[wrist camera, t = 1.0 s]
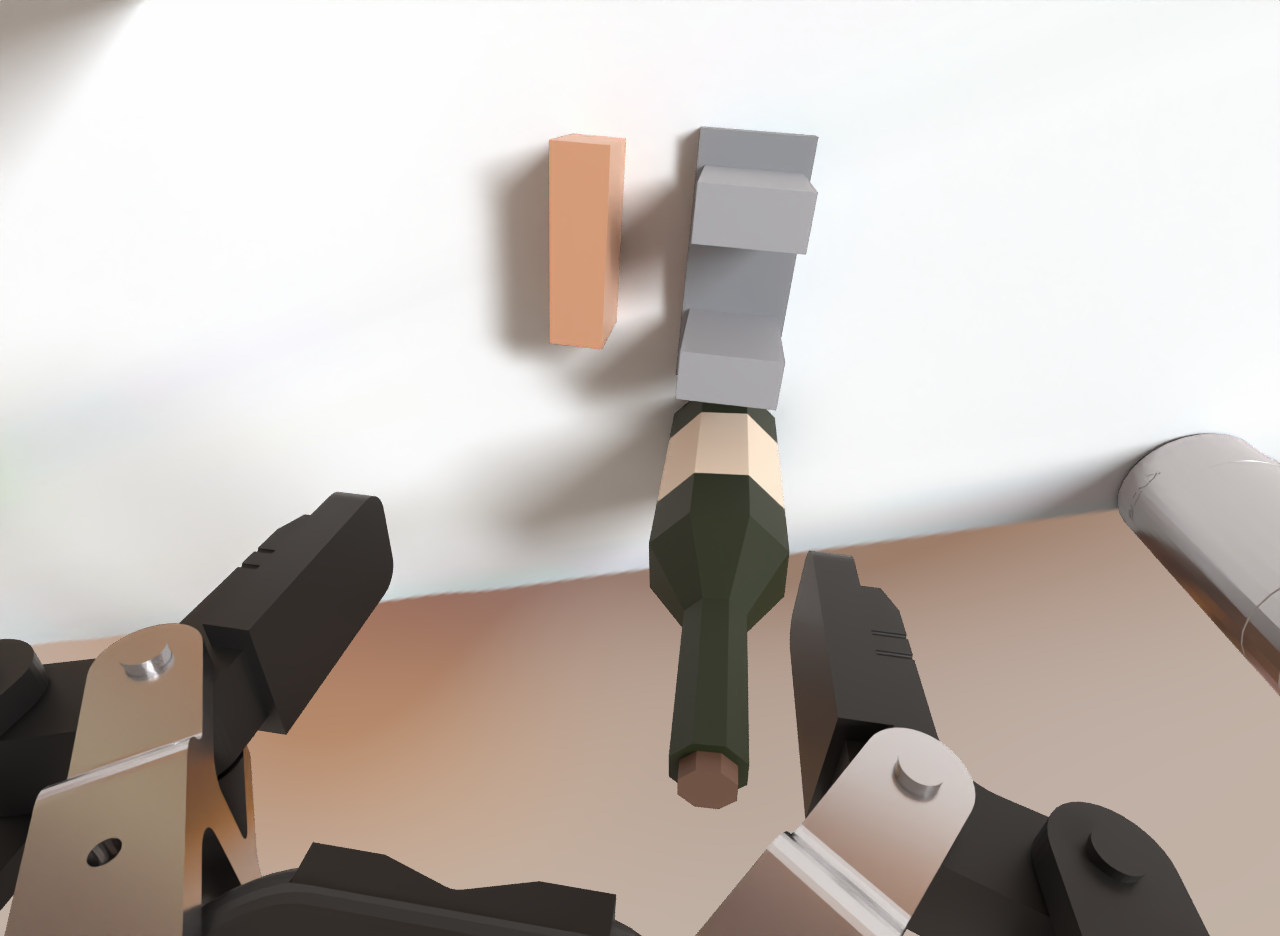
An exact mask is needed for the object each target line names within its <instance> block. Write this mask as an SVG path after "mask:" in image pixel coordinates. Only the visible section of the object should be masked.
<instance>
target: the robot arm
mask: <svg viewBox="0 0 1280 936" xmlns="http://www.w3.org/2000/svg"><path fill="white" fill-rule="evenodd" d="M1118 507H1119V513H1120V515H1121V516H1122V518H1123V520H1124V522H1125V523H1126V524H1127V525H1128V526H1129V527H1130V528H1131V529H1132V531H1133V532H1134V533H1135V534H1136V535H1137V536H1138V537H1139V539H1140V540H1142V542H1143V543H1144V544H1145V545H1146V546H1147V548H1148V549H1149V550H1150V551H1151V552H1152V553H1153V555H1154V556H1155V557H1156V558H1157V559H1158V560H1159V561H1160V562H1161V564H1162V565H1163V566H1164V567H1165V568H1166V569H1167V570H1168V572H1169V573H1170V574H1171V575H1172V576H1173V577H1174V578H1175V579H1176V581H1177V582H1178V583H1179V584H1180V585H1181V586H1182V587H1183V588H1184V589H1185V591H1186V592H1187V593H1188V594H1189V595H1190V596H1191V597H1192V598H1193V600H1194V601H1195V602H1196V603H1197V604H1198V605H1199V606H1200V608H1201V609H1202V610H1203V611H1204V612H1205V613H1206V614H1207V615H1208V617H1209V618H1210V619H1211V620H1212V621H1213V622H1214V623H1215V624H1216V625H1217V627H1218V628H1219V629H1220V630H1221V631H1222V632H1223V633H1224V634H1225V636H1226V637H1227V638H1228V639H1229V640H1230V641H1231V642H1232V643H1233V645H1234V646H1235V647H1236V648H1237V649H1238V650H1239V651H1240V652H1241V654H1242V655H1243V656H1244V657H1245V658H1246V659H1247V660H1248V661H1249V663H1250V664H1251V665H1252V666H1253V667H1254V668H1255V669H1256V670H1257V671H1258V672H1259V673H1260V675H1261V676H1262V677H1263V678H1264V679H1265V680H1266V681H1267V682H1268V684H1269V685H1270V686H1271V687H1272V688H1273V689H1274V690H1275V691H1276V693H1277V694H1278V695H1279V696H1280V463H1279V462H1278V461H1277V460H1272V459H1270V458H1269V457H1267V456H1266V455H1264V454H1263V453H1262V452H1260V451H1259V450H1257V449H1256V448H1254V447H1253V446H1251V445H1250V444H1248V443H1247V442H1245V441H1244V440H1242V439H1239V438H1236V437H1233V436H1230V435H1223V434H1198V435H1193V436H1189V437H1184V438H1181V439H1178V440H1175V441H1172V442H1170V443H1167V444H1165V445H1163V446H1161V447H1160V448H1158V449H1156V450H1154V451H1152V452H1151V453H1150V454H1148V455H1147V456H1146V457H1144V458H1143V459H1141V460H1140V461H1139V462H1138V463H1137V464H1136V465H1135V466H1134V467H1133V468H1132V469H1131V470H1130V472H1129V473H1128V475H1127V476H1126V478H1125V479H1124V481H1123V483H1122V486H1121V488H1120V491H1119V496H1118ZM392 573H393V557H392V552H391V546H390V541H389V536H388V530H387V525H386V519H385V514H384V509H383V505H382V502H381V500H380V499H379V498H378V497H376V496H368V495H359V494H351V493H343V492H336V493H333V494H332V495H331V496H329V497H328V498H327V499H326V500H325V501H324V502H323V503H322V504H321V505H320V506H319V507H318V508H317V509H316V510H315V511H314V512H313V513H312V514H311V515H303V516H301V517H299V518H297V519H296V520H294V521H292V522H290V523H288V524H286V525H285V526H283V527H281V528H279V529H277V530H276V531H275V532H274V533H273V534H272V535H271V536H270V537H269V538H268V539H267V540H266V541H265V542H264V543H263V544H262V545H261V546H260V547H258V551H257V552H253V553H252V554H251V555H250V556H249V557H248V558H247V559H246V560H245V561H244V562H243V563H242V567H238V568H237V569H235V570H234V571H233V572H232V573H231V574H230V575H229V576H228V577H227V578H226V579H225V580H224V581H223V582H222V583H221V584H220V585H219V586H218V587H217V588H216V589H215V590H214V591H212V592H211V593H210V594H209V595H208V596H207V597H206V598H205V599H204V600H203V601H202V602H201V603H200V604H199V605H198V606H197V607H196V608H195V609H194V610H193V611H192V612H191V613H189V614H188V615H187V616H186V617H185V618H184V619H183V620H182V621H181V622H180V623H179V624H177V623H174V624H161V625H156V626H152V627H148V628H145V629H142V630H139V631H136V632H134V633H132V634H129V635H127V636H125V637H123V638H122V639H120V640H118V641H117V642H115V643H113V644H112V645H111V646H109V647H108V648H107V649H105V650H104V651H103V652H102V653H101V654H100V655H99V656H98V657H97V658H96V659H88V660H79V661H71V662H63V663H53V664H44V665H42V664H41V662H40V660H39V658H38V657H37V655H36V653H35V652H34V650H33V649H32V647H31V646H30V645H29V644H28V643H26V642H24V641H21V640H15V639H1V640H0V910H1V909H2V908H3V907H4V906H5V904H6V903H7V902H8V901H9V900H10V898H11V897H12V896H13V895H14V896H13V900H12V905H11V909H10V913H9V918H8V922H7V927H6V931H5V936H641V935H639V934H638V933H637V932H635V931H634V930H633V929H631V928H630V927H628V926H626V925H624V924H622V923H620V922H618V921H616V920H615V905H616V894H609V893H604V892H598V891H592V890H587V889H581V888H574V887H569V886H563V885H558V884H552V883H546V882H540V881H538V882H530V883H520V884H511V885H501V886H492V887H483V888H474V889H464V890H455V889H450V888H448V887H445V886H443V885H441V884H440V883H438V882H436V881H434V880H432V879H430V878H428V877H426V876H424V875H422V874H420V873H419V872H417V871H415V870H413V869H411V868H409V867H407V866H405V865H403V864H401V863H400V862H398V861H396V860H394V859H392V858H390V857H388V856H386V855H383V854H378V853H371V852H366V851H360V850H355V849H349V848H342V847H336V846H331V845H325V844H320V843H314V842H313V843H312V845H311V847H310V848H309V850H308V852H307V854H306V855H305V857H304V859H303V861H302V863H301V865H300V866H299V868H295V869H289V870H285V871H281V872H276V873H272V874H269V875H266V876H263V877H262V876H261V872H260V868H259V864H258V857H257V850H256V834H255V818H254V804H253V789H252V788H253V787H252V771H251V757H250V752H249V749H248V747H247V744H248V743H249V741H250V740H251V739H252V737H253V736H254V735H255V733H256V732H257V731H258V730H259V731H266V732H272V733H279V734H285V735H286V734H287V733H288V731H289V730H290V729H291V727H292V726H293V724H294V723H295V721H296V720H297V718H298V717H299V716H300V714H301V713H302V711H303V710H304V708H305V707H306V706H307V704H308V703H309V701H310V700H311V699H312V697H313V696H314V694H315V693H316V691H317V690H318V688H319V687H320V686H321V684H322V683H323V681H324V680H325V679H326V677H327V676H328V674H329V673H330V671H331V670H332V668H333V667H334V666H335V664H336V663H337V661H338V660H339V658H340V657H341V656H342V654H343V653H344V651H345V650H346V649H347V647H348V646H349V644H350V643H351V641H352V640H353V638H354V637H355V636H356V634H357V633H358V631H359V630H360V629H361V627H362V626H363V624H364V623H365V621H366V620H367V619H368V617H369V616H370V614H371V613H372V611H373V610H374V609H375V607H376V606H377V604H378V603H379V601H380V600H381V599H382V597H383V596H384V594H385V593H386V591H387V589H388V587H389V585H390V582H391V578H392ZM790 653H791V664H792V676H793V687H794V698H795V709H796V719H797V731H798V742H799V753H800V764H801V775H802V785H803V797H804V808H805V820H804V822H803V823H802V824H801V825H800V826H799V828H798V829H797V830H796V831H795V832H793V833H792V834H790V833H789V832H787V831H786V832H784V833H782V834H781V835H780V836H778V837H777V838H776V839H775V840H774V841H773V842H772V843H771V844H770V846H769V847H768V848H767V849H766V850H765V852H764V853H763V854H762V855H761V856H760V858H759V859H758V860H757V861H756V862H755V864H754V865H753V866H752V867H751V869H750V870H749V871H748V872H747V873H746V875H745V876H744V877H743V878H742V879H741V881H740V882H739V883H738V884H737V886H736V887H735V888H734V889H733V890H732V892H731V893H730V894H729V895H728V896H727V898H726V899H725V900H724V901H723V903H722V904H721V905H720V906H719V907H718V909H717V910H716V911H715V912H714V913H713V915H712V916H711V917H710V918H709V920H708V921H707V922H706V923H705V924H704V926H703V927H702V928H701V929H700V930H699V932H698V933H697V934H696V935H695V936H903V935H904V933H905V931H906V929H908V930H910V931H912V932H914V933H916V934H918V935H920V936H1209V934H1208V932H1207V930H1206V928H1205V926H1204V924H1203V922H1202V920H1201V918H1200V916H1199V914H1198V912H1197V910H1196V908H1195V906H1194V904H1193V902H1192V900H1191V898H1190V896H1189V894H1188V892H1187V890H1186V888H1185V886H1184V884H1183V882H1182V880H1181V878H1180V876H1179V874H1178V872H1177V870H1176V868H1175V867H1174V865H1173V863H1172V862H1171V860H1170V859H1169V857H1168V856H1167V855H1166V853H1165V852H1164V851H1163V850H1162V848H1161V847H1159V845H1158V844H1157V843H1156V842H1155V841H1154V840H1153V839H1152V838H1151V837H1150V836H1149V835H1148V834H1147V833H1146V832H1144V831H1143V830H1142V829H1141V828H1139V827H1138V826H1137V825H1135V824H1134V823H1133V822H1131V821H1129V820H1128V819H1126V818H1125V817H1123V816H1121V815H1119V814H1117V813H1116V812H1113V811H1112V810H1109V809H1107V808H1104V807H1102V806H1099V805H1095V804H1091V803H1085V802H1070V803H1066V804H1062V805H1061V806H1059V807H1057V808H1056V809H1055V810H1054V811H1053V812H1052V813H1051V815H1050V816H1049V817H1047V816H1045V815H1042V814H1040V813H1038V812H1035V811H1033V810H1030V809H1028V808H1026V807H1024V806H1021V805H1019V804H1017V803H1014V802H1012V801H1010V800H1007V799H1005V798H1002V797H1000V796H998V795H996V794H994V793H992V792H990V791H988V790H986V789H985V788H983V787H981V786H980V785H978V784H977V783H975V782H974V781H972V778H971V776H970V774H969V772H968V770H967V769H966V767H965V765H964V764H963V762H962V761H961V760H960V759H959V758H958V757H957V755H956V754H955V753H954V752H952V751H951V750H950V749H949V748H948V747H947V746H945V745H944V744H943V743H941V742H940V741H939V739H938V736H937V733H936V730H935V727H934V723H933V720H932V717H931V713H930V710H929V707H928V704H927V701H926V697H925V694H924V690H923V687H922V684H921V681H920V677H919V674H918V671H917V668H916V664H915V661H914V660H912V655H913V654H912V651H911V648H910V645H909V641H908V640H907V639H906V632H905V628H904V625H903V622H902V619H901V615H900V612H899V610H898V609H897V608H896V606H895V605H894V604H893V603H892V601H891V600H890V599H889V598H888V597H887V595H886V594H885V593H884V592H883V591H882V590H881V589H880V588H874V587H865V586H860V583H859V579H858V574H857V570H856V566H855V562H854V559H853V557H852V556H849V555H840V554H832V553H824V552H816V551H809V552H808V554H807V556H806V559H805V564H804V568H803V572H802V576H801V581H800V584H799V589H798V593H797V597H796V602H795V606H794V610H793V614H792V620H791V629H790Z"/></svg>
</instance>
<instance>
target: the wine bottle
mask: <svg viewBox="0 0 1280 936" xmlns="http://www.w3.org/2000/svg"><path fill="white" fill-rule="evenodd" d="M788 558H789V544H788V535H787V526H786V517H785V508H784V499H783V490H782V480H781V471H780V462H779V453H778V444H777V435H776V426H775V418H774V417H773V416H772V415H771V414H770V413H769V412H768V411H767V410H766V409H760V408H751V407H743V406H734V405H725V404H716V403H708V402H699V401H689V402H688V403H687V404H686V405H685V406H684V407H682V408H681V409H680V410H679V411H678V412H677V413H675V414H674V419H673V424H672V429H671V434H670V439H669V444H668V449H667V455H666V460H665V465H664V470H663V475H662V480H661V485H660V490H659V495H658V500H657V505H656V510H655V515H654V520H653V526H652V531H651V536H650V541H649V567H650V588H651V589H652V590H653V592H654V593H655V594H656V595H657V597H658V598H659V599H660V600H661V601H662V603H663V604H664V605H665V607H666V608H667V609H668V610H669V612H670V613H671V614H672V615H673V617H674V618H675V619H676V620H677V622H678V623H679V624H680V625H681V626H682V636H681V645H680V655H679V664H678V674H677V684H676V693H675V702H674V703H675V704H674V712H673V722H672V731H671V741H670V750H669V777H670V778H672V779H673V780H675V781H676V782H677V783H678V795H679V796H681V797H682V798H684V799H685V800H686V801H688V802H689V803H691V804H692V805H693V806H695V807H696V806H697V807H704V808H713V809H720V808H722V807H724V806H726V805H728V804H731V803H733V802H735V801H737V792H738V789H739V788H741V787H743V786H745V785H747V781H748V770H749V731H748V730H749V725H748V660H747V632H748V631H749V630H750V629H751V628H752V627H753V626H754V625H755V624H756V623H757V622H758V621H759V620H760V619H761V618H762V617H763V616H764V615H765V614H766V613H768V612H769V611H770V610H771V609H772V607H774V606H775V605H776V604H777V603H778V602H779V601H780V600H781V599H782V598H783V597H784V593H785V584H786V576H787V567H788Z"/></svg>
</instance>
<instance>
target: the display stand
mask: <svg viewBox="0 0 1280 936" xmlns="http://www.w3.org/2000/svg"><path fill="white" fill-rule="evenodd" d="M817 142H818V137H817V136H814V135H801V134H789V133H776V132H764V131H752V130H739V129H727V128H714V127H701V129H700V139H699V149H698V159H697V169H696V179H695V189H694V199H693V209H692V219H691V229H690V239H689V249H688V259H687V269H686V279H685V289H684V299H683V309H682V319H681V329H680V339H679V349H678V359H677V369H676V375H678V378H677V388H676V398H675V399H681V400H690V401H699V402H708V403H716V404H725V405H734V406H743V407H751V408H760V409H769V410H776V408H777V403H778V397H779V392H780V387H781V382H782V377H783V371H784V366H785V359H784V353H783V347H782V341H781V336H782V331H783V325H784V320H785V315H786V309H787V304H788V298H789V293H790V288H791V282H792V277H793V271H794V266H795V261H796V255H797V254H805V255H806V252H807V246H808V241H809V236H810V231H811V226H812V220H813V215H814V210H815V205H816V200H817V194H818V192H817V191H816V189H815V188H814V187H813V186H812V184H811V183H810V179H811V174H812V169H813V163H814V158H815V152H816V147H817Z"/></svg>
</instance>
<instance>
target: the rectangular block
mask: <svg viewBox="0 0 1280 936" xmlns="http://www.w3.org/2000/svg"><path fill="white" fill-rule="evenodd" d="M625 151H626V138H616V137H604V136H593V135H582V134H569V135H565V136H561V137H558V138H554V139H550V140H549V287H550V343H551V344H560V345H568V346H577V347H586V348H594V349H602V348H603V346H604V345H605V343H606V341H607V339H608V337H609V335H610V333H611V331H612V329H613V327H614V326H615V324H616V322H617V303H618V284H619V265H620V246H621V227H622V208H623V189H624V170H625Z"/></svg>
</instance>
